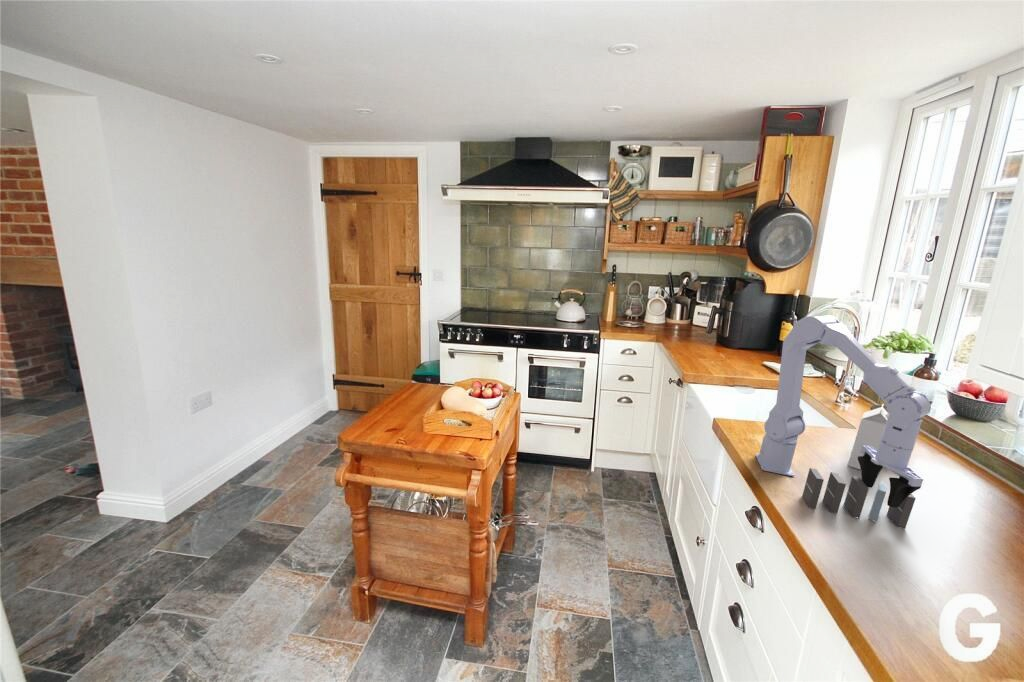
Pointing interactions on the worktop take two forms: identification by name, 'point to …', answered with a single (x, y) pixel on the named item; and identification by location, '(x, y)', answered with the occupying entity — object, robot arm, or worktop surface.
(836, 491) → the tile
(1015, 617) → the worktop surface
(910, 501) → the tile
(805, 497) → the tile
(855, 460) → the milk carton
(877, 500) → the tile
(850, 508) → the tile
